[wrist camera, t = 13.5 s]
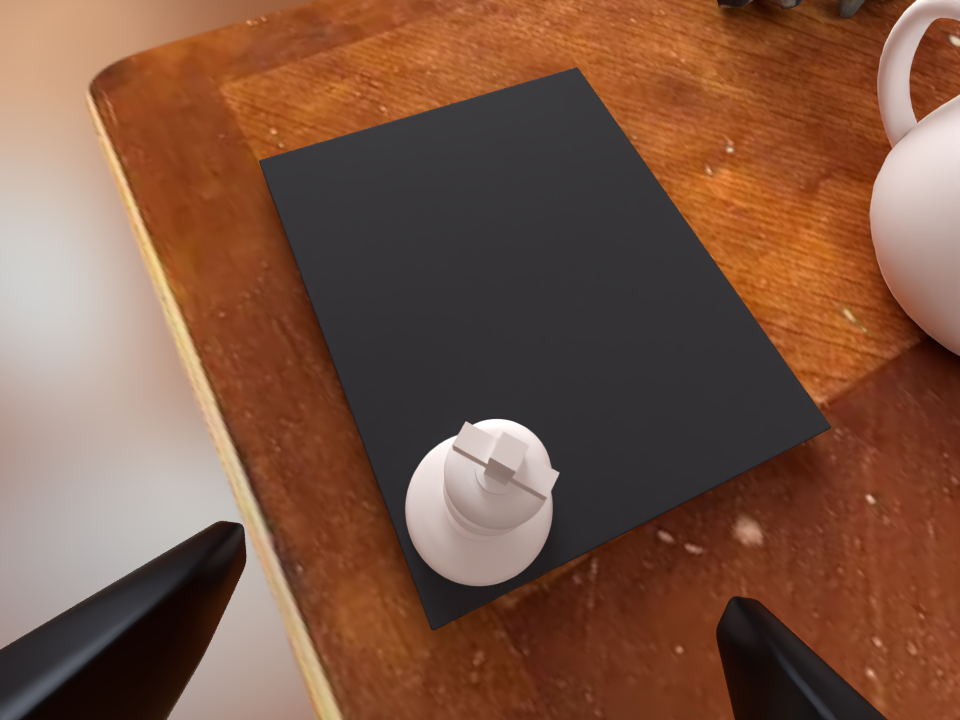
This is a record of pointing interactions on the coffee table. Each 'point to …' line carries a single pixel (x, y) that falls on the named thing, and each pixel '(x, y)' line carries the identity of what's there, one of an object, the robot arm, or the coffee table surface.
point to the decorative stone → (847, 4)
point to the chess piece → (482, 503)
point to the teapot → (919, 187)
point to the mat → (531, 314)
